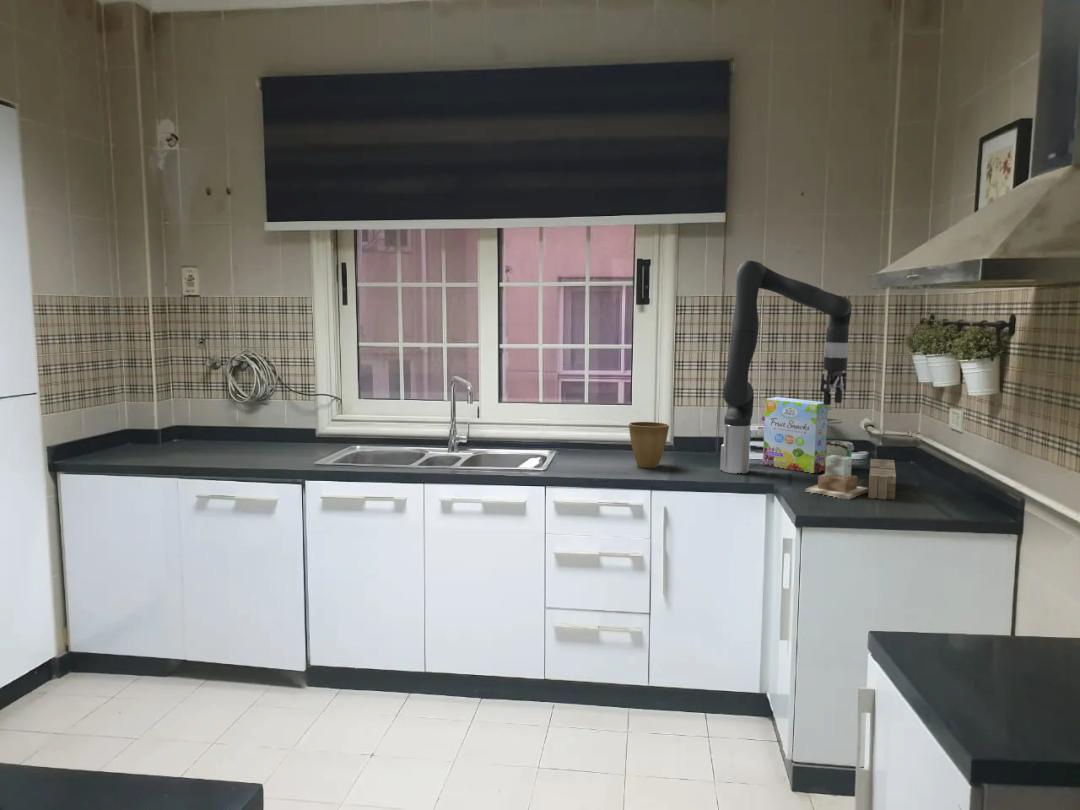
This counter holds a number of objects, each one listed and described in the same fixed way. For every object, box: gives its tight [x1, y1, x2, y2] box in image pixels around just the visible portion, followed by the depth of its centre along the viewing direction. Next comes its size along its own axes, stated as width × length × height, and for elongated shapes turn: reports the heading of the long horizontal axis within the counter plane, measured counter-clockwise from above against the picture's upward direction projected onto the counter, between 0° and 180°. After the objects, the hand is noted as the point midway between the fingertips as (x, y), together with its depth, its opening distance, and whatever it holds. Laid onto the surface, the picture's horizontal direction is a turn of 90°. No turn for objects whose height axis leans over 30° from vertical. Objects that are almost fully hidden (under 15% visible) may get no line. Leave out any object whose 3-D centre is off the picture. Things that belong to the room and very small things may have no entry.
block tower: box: [867, 458, 897, 500], centre depth 257 cm, size 8×8×29 cm
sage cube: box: [824, 455, 853, 478], centre depth 252 cm, size 6×6×6 cm
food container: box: [825, 439, 855, 458], centre depth 292 cm, size 12×6×10 cm, turn 22°
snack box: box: [762, 396, 829, 474], centre depth 290 cm, size 22×9×26 cm, turn 42°
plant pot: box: [628, 421, 670, 469], centre depth 292 cm, size 15×15×16 cm
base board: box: [804, 473, 869, 500], centre depth 253 cm, size 14×16×5 cm
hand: (832, 403), depth 266 cm, fingers open, 8 cm apart
